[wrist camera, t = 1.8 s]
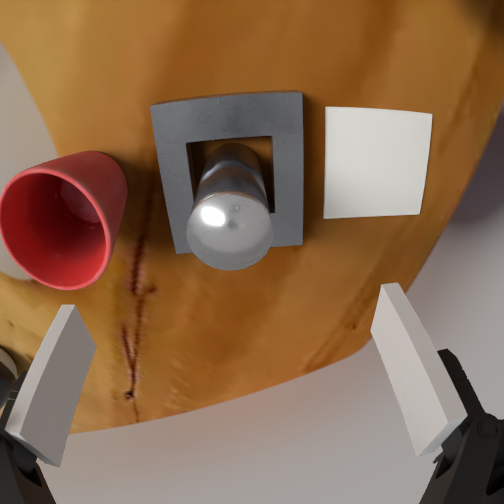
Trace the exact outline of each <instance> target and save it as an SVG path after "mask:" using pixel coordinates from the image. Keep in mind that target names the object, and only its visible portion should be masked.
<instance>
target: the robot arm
mask: <svg viewBox="0 0 504 504" xmlns="http://www.w3.org/2000/svg"><path fill="white" fill-rule="evenodd" d="M371 333H372V336H373V338H374V340H375V343H376V345H377V348H378V350H379V353H380V355H381V358H382V360H383V363H384V365H385V368H386V371H387V373H388V376H389V379H390V381H391V384H392V387H393V389H394V392H395V395H396V397H397V400H398V403H399V406H400V408H401V411H402V414H403V417H404V420H405V423H406V426H407V429H408V432H409V435H410V438H411V441H412V444H413V447H414V450H415V453H416V456H417V457H419V456H422V455H425V454H428V453H431V452H434V451H435V450H436V449H437V448H438V447H439V446H440V445H441V446H442V449H443V452H442V453H441V454H439V455H438V456H437V457H436V459H435V460H434V462H433V463H436V462H437V461H438V460H439V461H438V463H437V466H436V468H435V471H434V473H433V475H432V477H431V480H430V482H429V484H428V486H427V489H426V491H425V493H424V495H423V497H422V499H421V501H420V503H419V504H504V419H503V420H498V419H497V418H496V417H495V416H493V415H491V414H487V413H486V412H485V411H484V409H483V408H482V406H481V404H480V402H479V400H478V398H477V395H476V394H475V392H474V390H473V387H472V386H471V383H470V382H469V380H468V379H467V376H466V374H465V372H464V370H462V366H461V364H460V362H459V361H458V359H457V357H456V356H455V355H454V354H452V352H450V351H449V350H448V349H443V350H439V351H436V349H435V347H434V345H433V343H432V342H431V340H430V338H429V336H428V334H427V332H426V330H425V329H424V327H423V325H422V323H421V321H420V320H419V318H418V316H417V314H416V313H415V311H414V309H413V307H412V306H411V304H410V303H409V301H408V299H407V297H406V295H405V294H404V292H403V290H402V289H401V287H400V285H399V284H398V283H390V284H382V285H381V290H380V294H379V298H378V303H377V307H376V311H375V315H374V319H373V323H372V327H371ZM96 347H97V346H96V345H95V343H94V341H93V339H92V337H91V335H90V333H89V332H88V330H87V328H86V326H85V324H84V322H83V320H82V318H81V316H80V314H79V312H78V310H77V308H76V305H61V307H60V309H59V311H58V313H57V315H56V316H55V318H54V320H53V322H52V324H51V326H50V328H49V330H48V332H47V334H46V336H45V338H44V340H43V342H42V344H41V346H40V348H39V350H38V352H37V354H36V356H35V358H34V360H33V362H32V364H31V367H30V369H29V371H28V372H27V371H24V372H23V373H22V374H21V375H20V376H19V377H18V379H17V380H16V382H15V384H14V387H13V389H12V392H11V393H10V396H9V400H8V401H7V403H6V405H5V408H4V410H3V413H2V415H1V418H0V504H56V502H55V500H54V498H53V496H52V494H51V492H50V490H49V488H48V485H47V483H46V481H45V479H44V477H43V474H42V472H41V469H40V467H39V465H38V464H37V463H36V459H37V457H38V458H39V459H40V460H41V461H43V462H44V463H46V464H50V465H53V466H57V467H60V464H61V460H62V456H63V452H64V448H65V444H66V440H67V437H68V433H69V430H70V426H71V423H72V419H73V416H74V413H75V409H76V406H77V403H78V400H79V397H80V394H81V390H82V387H83V384H84V381H85V378H86V375H87V373H88V370H89V367H90V364H91V361H92V358H93V355H94V353H95V350H96Z"/></svg>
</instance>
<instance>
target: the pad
mask: <svg viewBox="0 0 504 504" xmlns="http://www.w3.org/2000/svg"><path fill="white" fill-rule="evenodd" d="M431 127H432V114H430V113H421V112H412V111H402V110H390V109H376V108H357V107H325V180H324V207H323V218H324V219H331V218H349V217H369V216H392V215H417V214H420V209H421V203H422V198H423V192H424V185H425V179H426V171H427V164H428V156H429V147H430V138H431Z"/></svg>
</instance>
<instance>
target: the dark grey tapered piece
mask: <svg viewBox="0 0 504 504" xmlns="http://www.w3.org/2000/svg"><path fill="white" fill-rule="evenodd" d="M16 380H17V368H16V365H15V363H14V361H13V359H12V358H11V357H10V356H9V354H8V353H6V352H5V351H4V350H3V349H1V348H0V409H1V408H2V407H3V406H4V405H5V404H6V402H7V401H8V399H9V396H10V393H11V392H12V389H13V387H14V384H15V382H16Z"/></svg>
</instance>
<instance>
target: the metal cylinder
mask: <svg viewBox="0 0 504 504" xmlns="http://www.w3.org/2000/svg"><path fill="white" fill-rule="evenodd" d="M186 235H187V241H188V244H189V246H190V248H191V250H192V252H193V253H194V254H195V256H196V257H197V258H198V259H199V260H201V261H202V262H203V263H205V264H207V265H209V266H211V267H213V268H217V269H221V270H239V269H244V268H247V267H249V266H251V265H253V264H255V263H257V262H258V261H259V260H260V259H262V258H263V257H264V255H265V254H266V253H267V251H268V250H269V248H270V246H271V243H272V239H273V227H272V222H271V217H270V212H269V207H268V202H267V197H266V192H265V187H264V182H263V177H262V172H261V167H260V163H259V160H258V157H257V156H256V154H255V153H254V152H253V151H252V150H251V149H250V148H248V147H247V146H245V145H242V144H239V143H227V144H223V145H221V146H219V147H217V148H216V149H214V150H213V151H212V152H211V154H210V155H209V157H208V158H207V161H206V164H205V167H204V170H203V173H202V177H201V180H200V183H199V186H198V190H197V193H196V196H195V200H194V203H193V206H192V210H191V213H190V217H189V220H188V224H187V230H186Z"/></svg>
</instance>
